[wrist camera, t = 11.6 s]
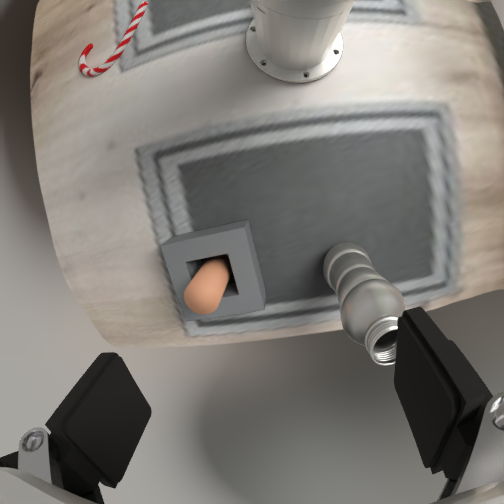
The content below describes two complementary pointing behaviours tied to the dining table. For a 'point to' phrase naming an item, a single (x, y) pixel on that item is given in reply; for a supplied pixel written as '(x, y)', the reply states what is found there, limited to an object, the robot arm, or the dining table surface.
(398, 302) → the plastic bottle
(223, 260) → the peg
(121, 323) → the dining table surface
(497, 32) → the dining table surface
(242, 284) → the socket block
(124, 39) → the candy cane
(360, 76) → the dining table surface
